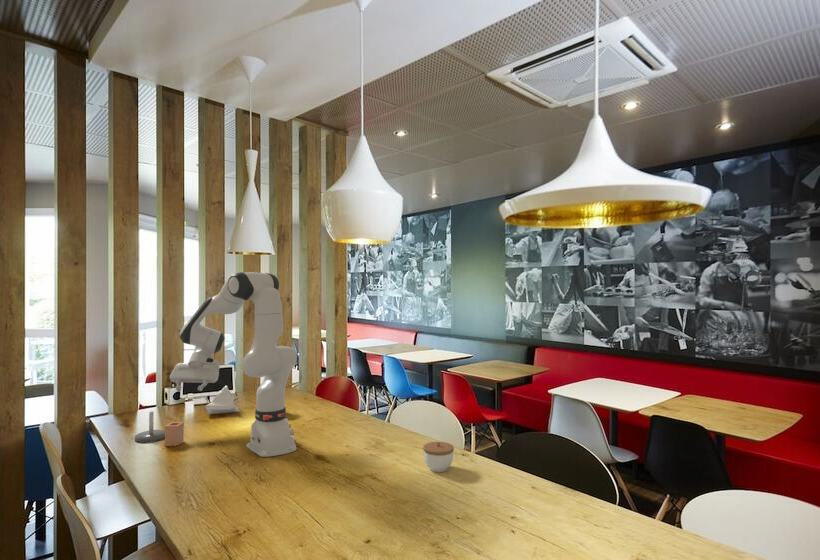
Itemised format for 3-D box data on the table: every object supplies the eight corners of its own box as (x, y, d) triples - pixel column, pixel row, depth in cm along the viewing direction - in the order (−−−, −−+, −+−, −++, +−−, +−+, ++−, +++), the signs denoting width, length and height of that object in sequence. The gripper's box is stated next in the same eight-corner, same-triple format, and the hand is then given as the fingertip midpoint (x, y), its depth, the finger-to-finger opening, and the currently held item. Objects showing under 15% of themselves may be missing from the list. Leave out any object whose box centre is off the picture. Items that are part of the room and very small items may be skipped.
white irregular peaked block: (207, 414, 232) (210, 385, 236) (238, 414, 237) (241, 386, 241) (204, 414, 221) (208, 384, 225) (237, 414, 225) (240, 385, 229)
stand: (167, 439, 190) (168, 413, 190) (134, 444, 184) (134, 417, 184) (166, 431, 200) (166, 406, 200) (134, 436, 194) (135, 410, 194)
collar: (183, 441, 187) (183, 422, 187) (177, 445, 182) (177, 426, 182) (171, 441, 187) (171, 422, 187) (164, 445, 182) (165, 426, 182)
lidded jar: (428, 476, 154) (428, 448, 154) (419, 464, 164) (419, 438, 164) (458, 473, 157) (458, 445, 157) (447, 461, 167) (447, 435, 167)
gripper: (174, 358, 205) (162, 385, 195) (219, 359, 205) (209, 386, 195) (178, 366, 209) (167, 393, 200) (223, 367, 210) (214, 394, 200)
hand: (188, 389), depth 198 cm, fingers open, 8 cm apart
